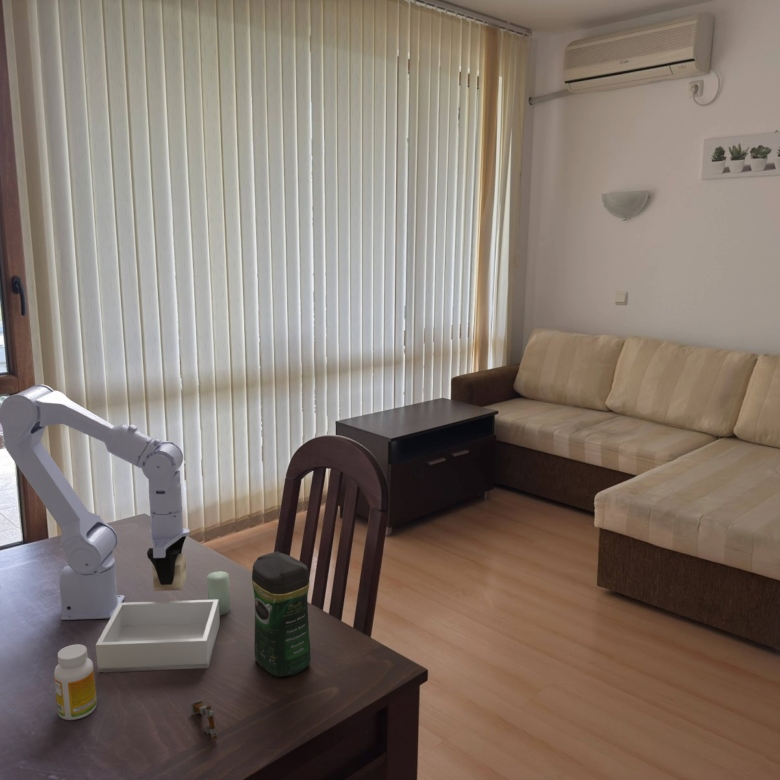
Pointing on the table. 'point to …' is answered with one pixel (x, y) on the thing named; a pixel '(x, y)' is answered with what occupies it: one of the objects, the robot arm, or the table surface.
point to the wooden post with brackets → (209, 712)
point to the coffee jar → (281, 614)
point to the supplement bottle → (74, 683)
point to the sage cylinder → (219, 590)
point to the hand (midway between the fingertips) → (169, 576)
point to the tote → (159, 636)
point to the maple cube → (178, 576)
